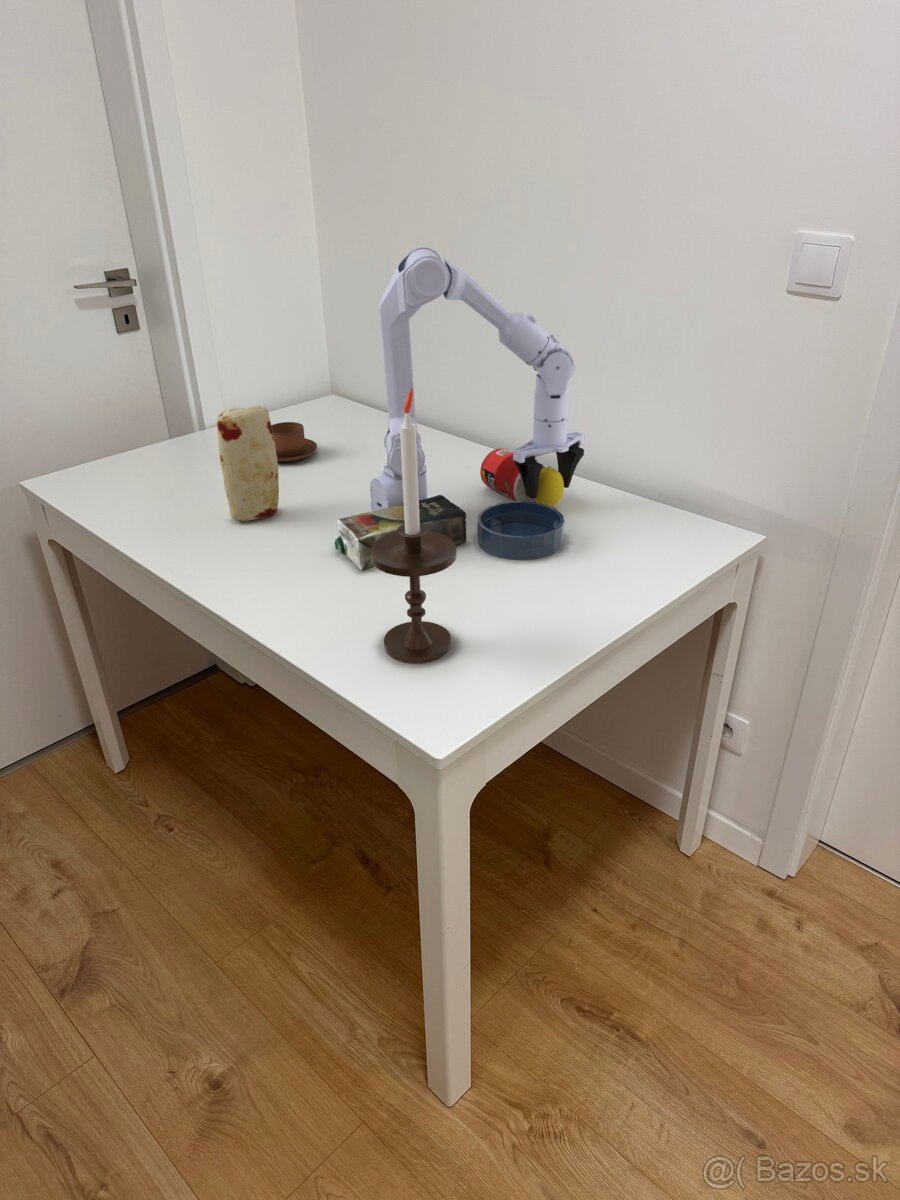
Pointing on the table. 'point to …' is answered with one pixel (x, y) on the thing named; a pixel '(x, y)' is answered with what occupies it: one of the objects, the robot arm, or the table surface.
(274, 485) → the food model
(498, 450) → the canned food
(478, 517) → the bowl
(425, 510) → the juice carton
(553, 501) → the lemon
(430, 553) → the candlestick
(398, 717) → the table surface
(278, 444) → the cup and saucer
